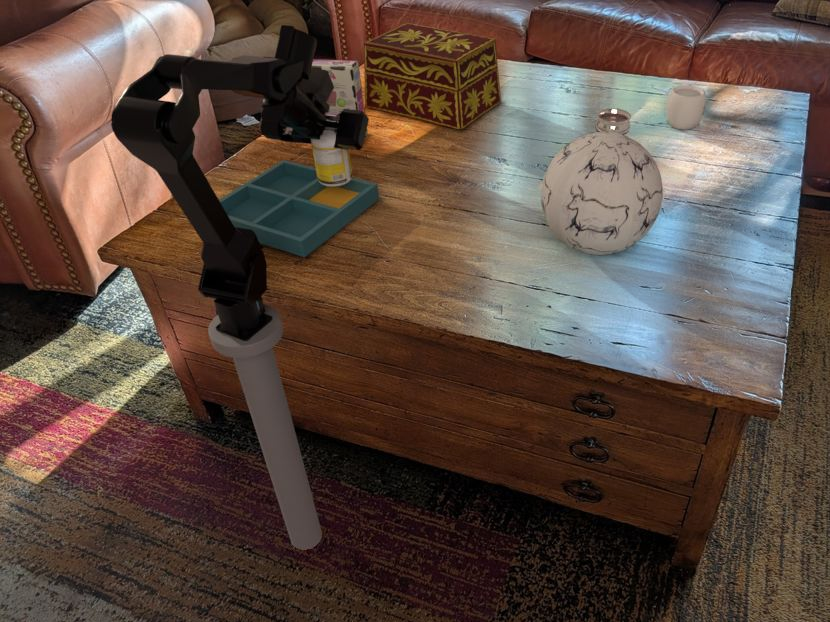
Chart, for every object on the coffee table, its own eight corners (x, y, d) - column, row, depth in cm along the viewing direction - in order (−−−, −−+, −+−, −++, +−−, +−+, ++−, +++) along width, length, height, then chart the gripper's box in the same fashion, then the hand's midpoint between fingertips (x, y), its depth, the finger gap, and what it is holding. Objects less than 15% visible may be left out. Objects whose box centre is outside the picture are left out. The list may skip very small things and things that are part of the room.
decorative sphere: (677, 254, 125) (699, 144, 112) (587, 292, 117) (599, 178, 104) (602, 206, 138) (614, 102, 125) (516, 237, 130) (519, 130, 117)
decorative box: (364, 107, 175) (356, 42, 165) (409, 82, 187) (404, 20, 177) (460, 130, 164) (458, 63, 154) (501, 102, 176) (502, 38, 166)
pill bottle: (340, 168, 139) (332, 109, 131) (359, 180, 135) (351, 119, 127) (311, 179, 136) (300, 119, 128) (329, 191, 132) (320, 130, 124)
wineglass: (631, 174, 147) (639, 117, 139) (604, 183, 145) (611, 125, 137) (610, 161, 152) (616, 105, 144) (584, 170, 149) (589, 113, 141)
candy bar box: (368, 134, 164) (359, 59, 153) (362, 143, 160) (352, 68, 149) (321, 131, 165) (308, 57, 154) (313, 140, 161) (300, 65, 151)
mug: (695, 136, 161) (702, 101, 155) (658, 128, 164) (663, 94, 159) (710, 116, 168) (717, 82, 163) (674, 109, 172) (680, 76, 166)
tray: (304, 257, 126) (301, 241, 124) (206, 226, 134) (201, 210, 132) (379, 199, 141) (377, 183, 139) (286, 174, 149) (283, 159, 147)
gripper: (357, 63, 115) (390, 106, 130) (253, 53, 119) (297, 95, 135) (342, 131, 115) (377, 166, 130) (238, 118, 119) (284, 153, 134)
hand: (333, 143), depth 132 cm, fingers closed on pill bottle, 6 cm apart
